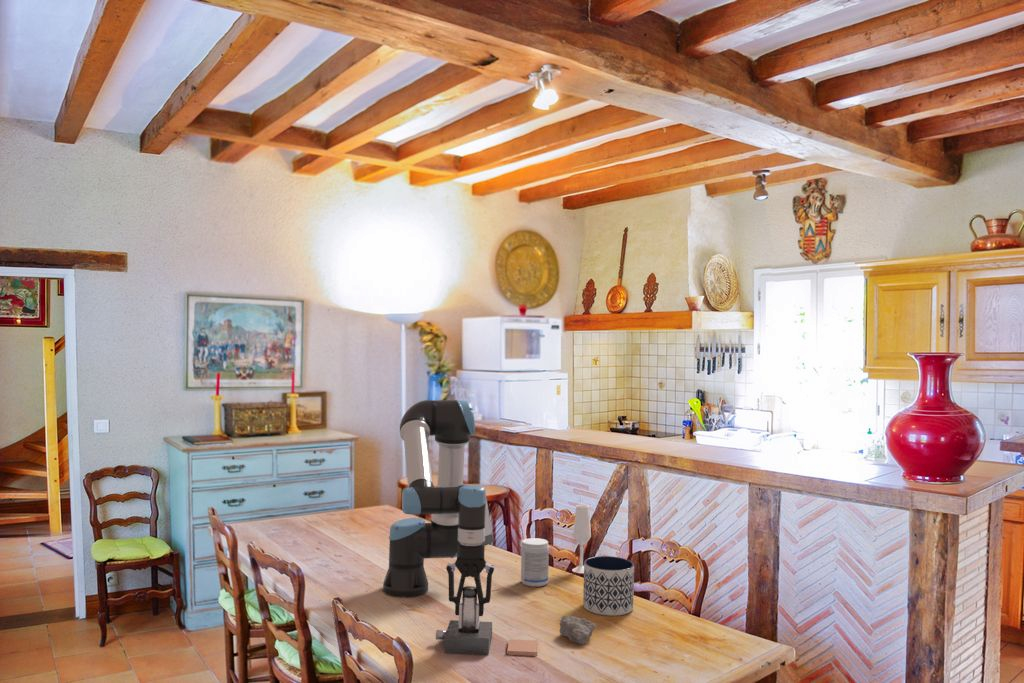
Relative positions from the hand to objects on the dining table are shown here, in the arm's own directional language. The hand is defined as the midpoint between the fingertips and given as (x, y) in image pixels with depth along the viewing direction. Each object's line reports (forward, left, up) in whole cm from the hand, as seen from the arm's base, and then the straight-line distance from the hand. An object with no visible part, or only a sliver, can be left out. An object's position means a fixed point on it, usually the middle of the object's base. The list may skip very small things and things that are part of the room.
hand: (469, 626), depth 210 cm
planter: (+41, +35, -5) cm, 54 cm away
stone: (+30, +8, -5) cm, 32 cm away
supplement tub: (+17, +57, -5) cm, 60 cm away
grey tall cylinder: (0, 0, -3) cm, 3 cm away
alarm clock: (-14, +108, -5) cm, 109 cm away
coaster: (+15, -1, -5) cm, 16 cm away
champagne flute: (+34, +74, -5) cm, 82 cm away
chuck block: (-1, 0, -5) cm, 5 cm away
